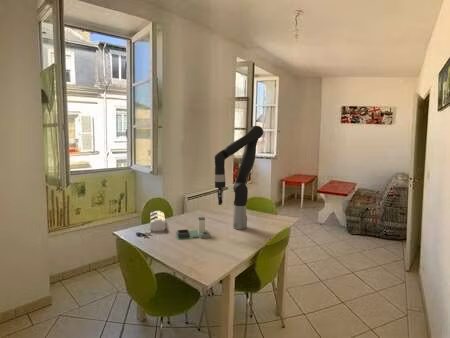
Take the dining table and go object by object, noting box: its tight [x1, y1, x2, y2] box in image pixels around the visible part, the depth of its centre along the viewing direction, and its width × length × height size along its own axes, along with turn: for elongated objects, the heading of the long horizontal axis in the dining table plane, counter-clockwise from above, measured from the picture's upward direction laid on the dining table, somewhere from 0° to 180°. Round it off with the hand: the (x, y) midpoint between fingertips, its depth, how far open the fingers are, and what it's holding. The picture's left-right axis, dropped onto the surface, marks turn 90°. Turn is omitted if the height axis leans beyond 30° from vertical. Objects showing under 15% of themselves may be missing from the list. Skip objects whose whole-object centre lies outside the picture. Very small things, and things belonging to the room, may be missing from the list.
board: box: [174, 229, 212, 241], centre depth 210 cm, size 22×16×4 cm
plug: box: [197, 216, 206, 235], centre depth 212 cm, size 4×4×11 cm
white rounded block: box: [149, 210, 167, 232], centre depth 232 cm, size 25×10×13 cm, turn 14°
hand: (220, 203), depth 222 cm, fingers open, 8 cm apart
